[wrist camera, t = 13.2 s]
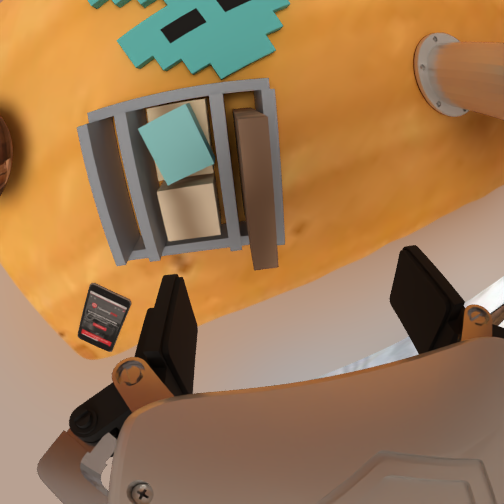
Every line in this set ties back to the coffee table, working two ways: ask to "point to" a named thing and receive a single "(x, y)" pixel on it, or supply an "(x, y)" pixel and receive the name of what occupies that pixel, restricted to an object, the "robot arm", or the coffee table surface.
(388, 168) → the coffee table surface
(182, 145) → the offcut teal
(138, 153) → the rack
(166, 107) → the offcut oak wide
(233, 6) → the alien figure
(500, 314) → the wooden fragment
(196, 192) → the offcut beech
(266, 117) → the brown block
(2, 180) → the wooden sphere
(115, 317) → the smartphone
